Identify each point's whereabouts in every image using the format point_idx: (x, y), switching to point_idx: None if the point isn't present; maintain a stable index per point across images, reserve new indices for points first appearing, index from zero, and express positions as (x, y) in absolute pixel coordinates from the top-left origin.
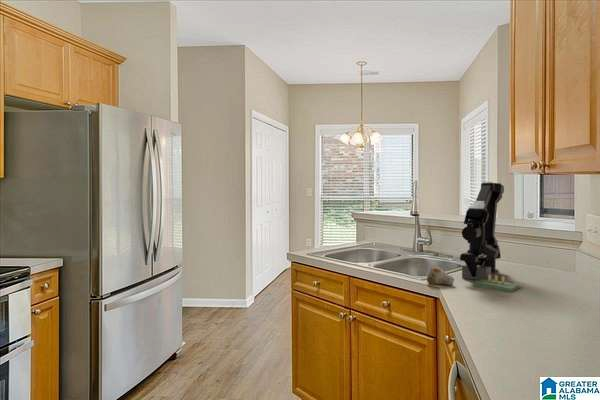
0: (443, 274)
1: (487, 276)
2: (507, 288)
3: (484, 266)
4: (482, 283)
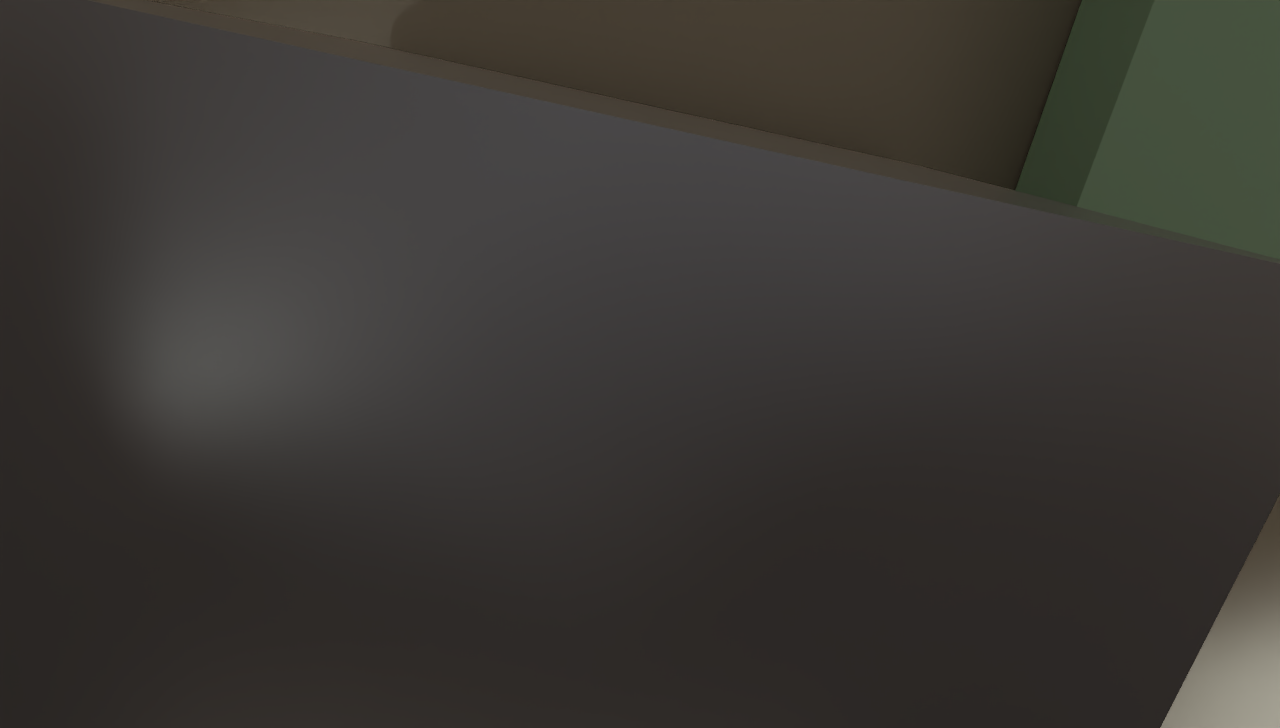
0: None
1: (811, 143)
2: None
3: (92, 658)
4: None
